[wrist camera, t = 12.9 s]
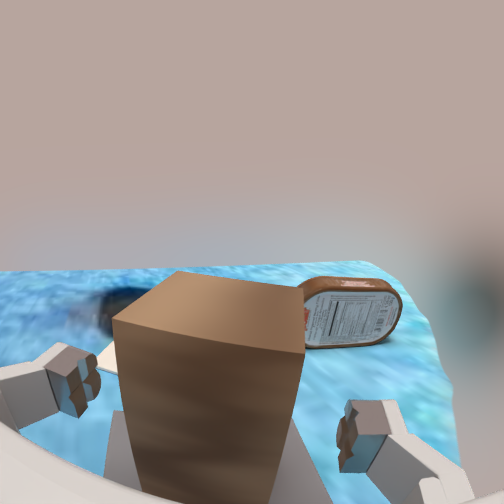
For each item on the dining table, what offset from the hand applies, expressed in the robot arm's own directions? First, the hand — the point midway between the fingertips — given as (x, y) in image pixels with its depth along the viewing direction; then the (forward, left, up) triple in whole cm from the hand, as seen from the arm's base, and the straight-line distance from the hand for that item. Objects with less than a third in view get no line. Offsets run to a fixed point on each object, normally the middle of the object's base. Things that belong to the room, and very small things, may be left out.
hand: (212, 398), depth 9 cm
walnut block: (0, +1, -7) cm, 7 cm away
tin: (+3, +28, -12) cm, 31 cm away
